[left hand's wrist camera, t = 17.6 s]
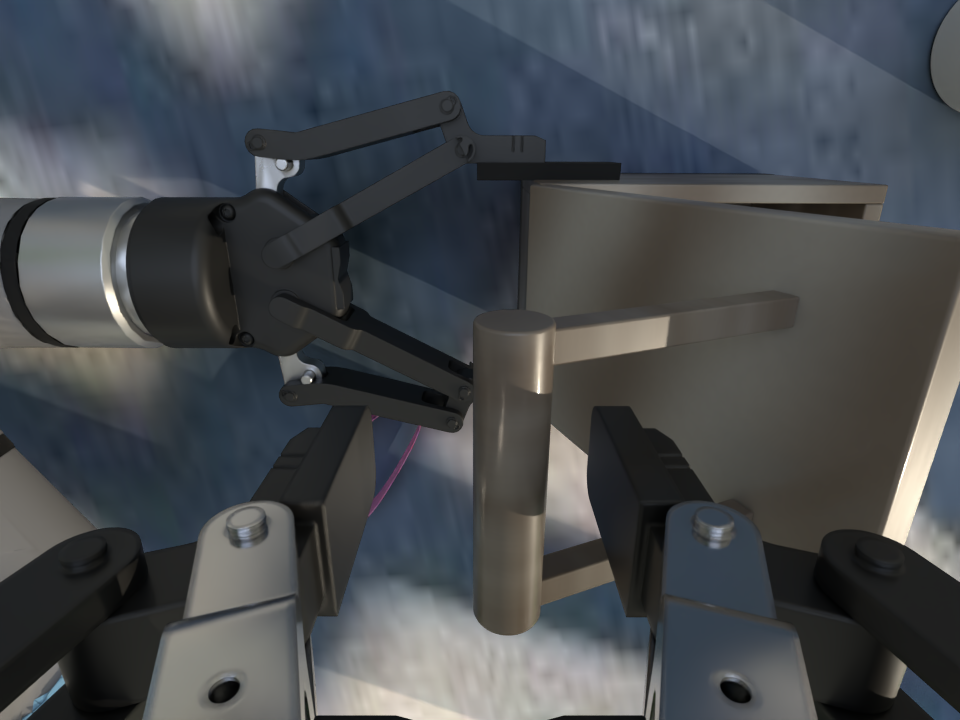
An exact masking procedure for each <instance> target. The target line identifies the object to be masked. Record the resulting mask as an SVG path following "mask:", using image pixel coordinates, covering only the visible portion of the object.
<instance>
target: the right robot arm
mask: <svg viewBox="0 0 960 720" xmlns="http://www.w3.org/2000/svg"><path fill="white" fill-rule="evenodd" d="M440 126H441V129H442V132H443V135H444V137H445V140H446V143H444V144H443V145H441V146H439V147H437V148H436V149H434V150H432V151H430V152H429V153H427V154H425V155H423V156H422V157H420V158H418V159H417V160H415V161H413V162H411V163H410V164H408V165H406V166H404V167H403V168H401V169H399V170H397V171H396V172H394V173H392V174H390V175H389V176H387V177H385V178H383V179H382V180H380V181H378V182H376V183H375V184H373V185H371V186H369V187H368V188H366V189H364V190H362V191H361V192H359V193H357V194H356V195H354V196H352V197H350V198H349V199H347V200H345V201H343V202H342V203H340V204H338V205H336V206H334V207H332V208H330V209H329V210H327V211H325V212H323V213H322V214H320V215H319V214H317V213H316V212H315V211H313V210H312V209H310V208H309V207H307V206H306V205H305V204H303V203H302V202H300V201H299V200H297V199H296V198H294V197H293V196H292V195H290V194H289V193H287V192H286V191H284V190H283V186H284V183H285V181H286V180H287V179H288V178H290V177H294V176H298V175H300V174H301V173H302V172H303V171H304V168H305V160H310V159H321V158H326V157H330V156H334V155H337V154H341V153H345V152H348V151H352V150H356V149H359V148H363V147H367V146H370V145H374V144H378V143H381V142H385V141H388V140H392V139H396V138H399V137H403V136H407V135H410V134H414V133H418V132H421V131H425V130H429V129H432V128H436V127H440ZM245 145H246V148H247V149H248V151H249V152H250V153H251V154H252V155H254V156H255V170H256V189H255V190H253V191H251V192H249V193H248V194H246V195H244V196H242V197H234V198H230V197H161V198H157V199H155V200H153V201H151V200H148V199H145V198H143V197H58V198H42V199H27V198H0V349H3V348H24V347H104V348H158V347H160V346H163V345H166V346H168V347H172V348H247V347H254V348H259V349H262V350H265V351H267V352H269V353H271V354H273V355H276V356H278V357H279V361H280V366H281V370H282V374H283V378H284V382H285V385H284V386H283V387H282V388H281V390H280V392H279V398H280V400H281V401H282V402H283V403H284V404H285V405H287V406H302V405H314V404H328V405H332V406H334V405H368V406H369V407H370V410H371V415H376V416H380V417H384V418H389V419H393V420H398V421H402V422H406V423H411V424H415V425H419V426H424V427H428V428H432V429H437V430H441V431H446V432H451V433H454V432H458V431H459V430H460V429H461V428H462V426H463V421H464V418H465V416H466V413H467V411H468V408H469V406H470V405H471V403H472V402H473V363H472V362H470V363H469V365H467V364H465V363H463V362H461V361H459V360H457V359H455V358H453V357H451V356H449V355H447V354H445V353H443V352H441V351H439V350H437V349H435V348H433V347H431V346H429V345H427V344H425V343H423V342H421V341H419V340H417V339H415V338H413V337H411V336H409V335H407V334H405V333H403V332H401V331H399V330H397V329H395V328H393V327H391V326H389V325H387V324H385V323H383V322H381V321H379V320H377V319H374V318H373V317H371V316H370V315H369V314H368V313H367V312H366V311H365V310H363V309H361V308H359V307H357V306H355V305H353V304H351V303H350V302H351V301H352V300H353V292H352V284H351V281H350V278H349V275H348V273H347V267H348V262H349V256H350V254H349V241H345V238H344V236H343V235H342V233H344V232H345V231H347V230H349V229H351V228H352V227H354V226H356V225H358V224H359V223H361V222H363V221H365V220H367V219H368V218H370V217H372V216H374V215H375V214H377V213H379V212H381V211H383V210H384V209H386V208H388V207H390V206H391V205H393V204H395V203H397V202H399V201H400V200H402V199H404V198H406V197H407V196H409V195H411V194H413V193H415V192H416V191H418V190H420V189H422V188H423V187H425V186H427V185H429V184H431V183H432V182H434V181H436V180H438V179H439V178H441V177H443V176H445V175H447V174H448V173H450V172H452V171H454V170H455V169H457V168H459V167H461V166H463V165H464V164H466V163H477V180H620V171H621V163H614V162H545V148H546V140H544V139H541V138H539V137H537V136H484V135H479V134H476V133H475V132H474V131H472V130H471V128H470V127H469V125H468V122H467V119H466V116H465V113H464V111H463V108H462V105H461V102H460V100H459V98H458V96H457V95H456V94H455V93H453V92H450V91H443V92H439V93H436V94H432V95H429V96H425V97H421V98H418V99H414V100H411V101H407V102H403V103H400V104H396V105H393V106H389V107H386V108H382V109H378V110H375V111H371V112H368V113H364V114H361V115H357V116H353V117H350V118H346V119H343V120H339V121H335V122H332V123H328V124H325V125H321V126H318V127H314V128H310V129H307V130H303V131H300V132H287V131H278V130H268V129H252V130H250V131H249V132H248V133H247V135H246V136H245ZM317 337H318V338H320V339H322V340H324V341H326V342H328V343H331V344H333V345H335V346H337V347H339V348H341V349H345V350H354V351H356V352H358V353H360V354H362V355H364V356H366V357H369V358H371V359H373V360H375V361H377V362H379V363H381V364H383V365H385V366H387V367H389V368H391V369H393V370H395V371H397V372H400V373H402V374H404V375H406V376H408V377H410V378H412V379H414V380H416V381H418V382H420V383H422V384H424V385H426V386H428V387H430V388H427V387H422V386H418V385H414V384H410V383H405V382H401V381H397V380H393V379H388V378H384V377H380V376H376V375H371V374H367V373H363V372H359V371H354V370H350V369H346V368H340V367H325V365H324V364H323V362H322V361H321V360H319V359H313V358H309V357H307V356H306V355H305V354H304V353H303V351H302V349H303V348H304V347H305V346H307V345H308V344H309V343H311V342H312V341H313V340H315V339H316V338H317ZM431 388H433V389H431ZM92 530H97V529H96V528H95V527H94V526H93V525H92V524H91V523H90V522H89V521H88V520H87V519H86V518H85V517H84V516H83V515H82V514H81V513H80V512H79V511H78V510H77V509H76V508H75V507H74V506H73V505H72V504H71V503H70V502H69V501H68V500H67V499H66V498H65V497H64V496H63V495H62V494H61V493H60V492H59V491H58V490H57V489H56V488H55V487H54V486H53V485H52V484H51V483H50V482H49V481H48V480H47V479H46V478H45V477H44V476H43V475H42V474H41V473H40V472H39V471H38V470H37V469H36V468H35V467H34V466H33V465H32V464H31V463H30V462H29V461H28V460H27V459H26V458H25V457H24V456H23V455H22V454H21V453H20V452H19V451H18V450H17V449H16V448H15V447H14V444H13V443H12V442H11V441H10V440H9V439H8V438H7V437H6V436H5V435H4V434H3V432H2V431H1V430H0V582H1V581H3V580H4V579H6V578H7V577H9V576H10V575H12V574H13V573H15V572H16V571H18V570H19V569H20V568H22V567H23V566H25V565H26V564H28V563H29V562H31V561H32V560H34V559H35V558H37V557H38V556H40V555H41V554H42V553H44V552H45V551H47V550H48V549H50V548H52V547H53V546H55V545H57V544H58V543H60V542H62V541H64V540H66V539H69V538H71V537H73V536H76V535H79V534H82V533H85V532H89V531H92ZM64 684H65V682H64V679H63V676H62V673H61V671H60V668H59V665H58V662H57V663H56V664H55V665H54V666H53V667H52V668H51V669H49V670H48V671H47V672H46V673H45V674H44V675H43V676H41V677H40V678H39V679H38V680H37V681H36V682H35V683H34V684H32V685H31V686H30V687H29V688H28V689H27V690H26V691H25V692H23V693H22V694H21V695H20V696H19V697H18V698H17V699H16V700H14V701H13V702H12V703H11V704H10V705H9V706H8V707H7V708H5V709H4V710H3V711H2V712H1V713H0V720H26V719H27V718H28V717H29V716H31V715H32V714H33V713H34V712H35V711H36V710H37V709H38V708H39V707H40V706H41V705H42V704H43V703H44V702H45V701H47V700H48V699H49V698H50V697H51V696H52V695H53V694H54V693H55V692H56V691H57V690H58V689H59V688H60V687H62V686H63V685H64Z"/></svg>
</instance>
